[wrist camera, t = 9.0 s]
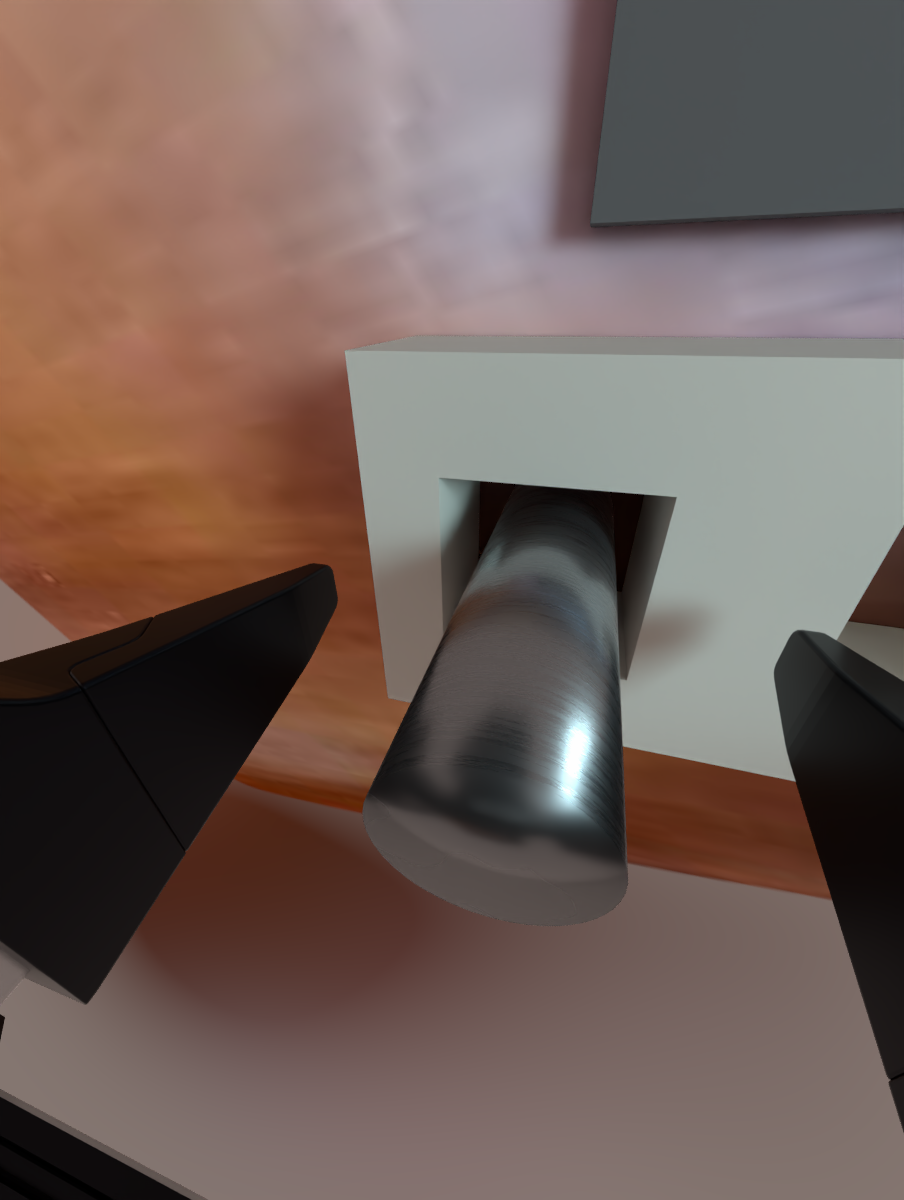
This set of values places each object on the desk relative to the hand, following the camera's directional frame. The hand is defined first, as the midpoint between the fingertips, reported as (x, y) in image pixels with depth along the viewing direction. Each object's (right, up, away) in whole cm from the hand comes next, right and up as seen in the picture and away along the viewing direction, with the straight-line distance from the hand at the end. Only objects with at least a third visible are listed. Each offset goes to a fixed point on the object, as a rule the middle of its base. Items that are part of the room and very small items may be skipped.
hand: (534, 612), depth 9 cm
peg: (+1, +3, +4) cm, 5 cm away
